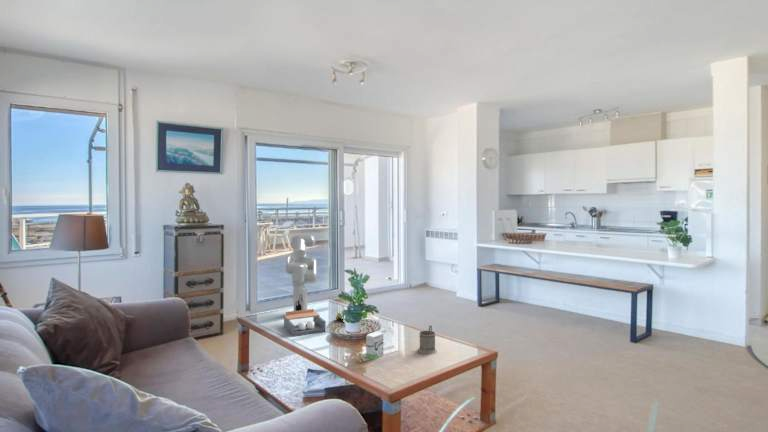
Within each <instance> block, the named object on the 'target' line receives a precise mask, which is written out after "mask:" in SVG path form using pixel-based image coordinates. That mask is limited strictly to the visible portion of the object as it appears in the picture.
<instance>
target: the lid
mask: <svg viewBox="0 0 768 432" xmlns="http://www.w3.org/2000/svg"><path fill="white" fill-rule="evenodd" d="M317 316H320V317H321V315H320V314H319V313H317V312H316V311H315V309H314V308H312V309H311V308H309V309H308V308H307V310H299V311H294V310H292V311H286V312H285V314H283V318H284V317H285V318H286V319H287V320H290V321H292V320H300V319H308V318H313V317H317Z"/></svg>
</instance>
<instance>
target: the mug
mask: <svg viewBox="0 0 768 432" xmlns="http://www.w3.org/2000/svg"><path fill="white" fill-rule="evenodd" d="M418 333H419V334H418V335H419V347H418V350H417V352H418V353H419V354H423V355H434V354H436V353H437V349H436V332H435V331H433V325H432V324H428V329H427V330H422V331H419V332H418Z"/></svg>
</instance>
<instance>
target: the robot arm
mask: <svg viewBox="0 0 768 432" xmlns="http://www.w3.org/2000/svg"><path fill="white" fill-rule="evenodd" d="M315 245H316V235H314V234H295V235H294V236H292V237H291V247H292V250H293V251H292V252H290V254H289V255H288V256H287V257H286V261H285V273H286V274H288V275H291V281H292V287H293V288H292V299H293V301H292V302H293V311H299V310H308V288H307V287H306V286H305V285H306V284H315V283H316V282H317V281H318V261H317V259H316V257H313V256H311V257H307V254H308V253H307V248H308V247H310V248H311V247H315Z"/></svg>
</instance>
